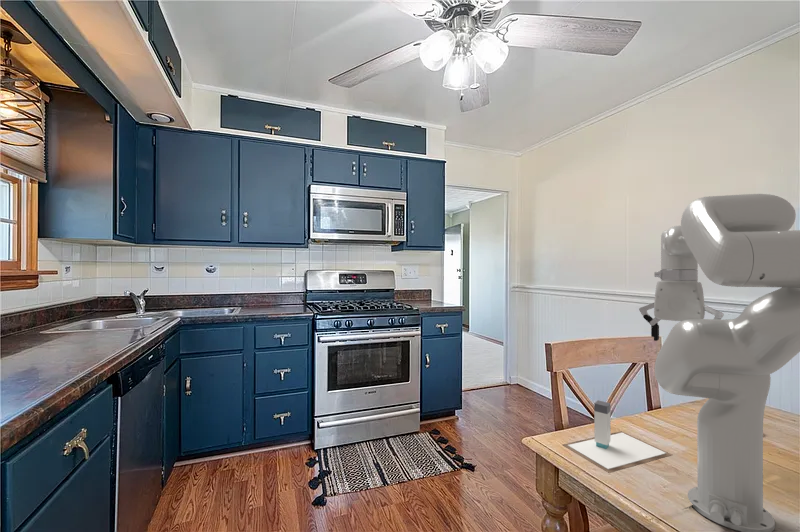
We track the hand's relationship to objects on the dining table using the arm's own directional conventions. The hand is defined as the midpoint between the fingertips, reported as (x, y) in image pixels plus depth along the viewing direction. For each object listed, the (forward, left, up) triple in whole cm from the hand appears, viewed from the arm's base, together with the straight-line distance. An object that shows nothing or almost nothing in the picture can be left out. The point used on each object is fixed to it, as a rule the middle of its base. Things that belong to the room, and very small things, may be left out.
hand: (679, 342), depth 94 cm
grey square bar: (-13, +15, -27) cm, 33 cm away
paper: (-12, +12, -28) cm, 32 cm away
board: (-12, +12, -28) cm, 33 cm away
